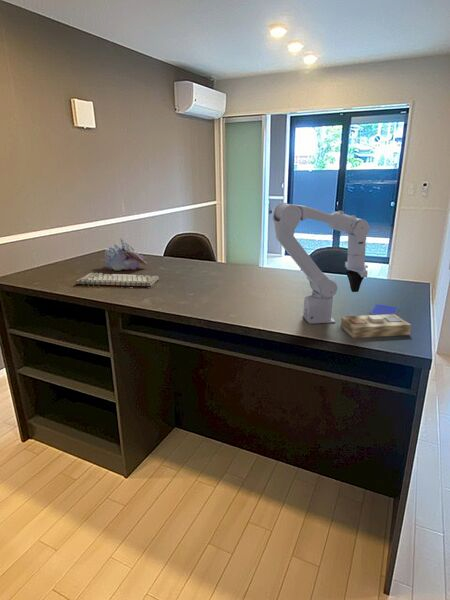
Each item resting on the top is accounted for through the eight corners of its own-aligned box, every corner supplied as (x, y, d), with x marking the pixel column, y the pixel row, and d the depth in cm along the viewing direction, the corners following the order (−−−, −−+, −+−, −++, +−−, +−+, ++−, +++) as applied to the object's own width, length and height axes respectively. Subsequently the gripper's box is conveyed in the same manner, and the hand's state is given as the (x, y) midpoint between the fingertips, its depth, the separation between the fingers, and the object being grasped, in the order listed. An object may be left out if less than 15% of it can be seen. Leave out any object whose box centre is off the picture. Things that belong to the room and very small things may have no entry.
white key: (372, 325, 125) (373, 319, 124) (367, 321, 128) (367, 315, 128) (382, 324, 125) (383, 318, 125) (377, 320, 129) (378, 314, 128)
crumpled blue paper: (101, 257, 219) (99, 232, 206) (138, 252, 228) (139, 228, 215) (109, 282, 207) (108, 258, 195) (148, 276, 216) (150, 252, 203)
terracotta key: (354, 329, 125) (355, 323, 124) (349, 324, 128) (350, 319, 127) (364, 328, 125) (365, 322, 124) (360, 324, 128) (360, 318, 128)
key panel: (353, 337, 122) (354, 327, 121) (340, 326, 131) (341, 316, 130) (409, 334, 124) (411, 324, 123) (392, 323, 134) (394, 314, 132)
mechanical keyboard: (161, 279, 193) (161, 272, 192) (151, 290, 175) (151, 283, 174) (88, 278, 196) (88, 271, 195) (71, 289, 178) (70, 281, 177)
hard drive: (393, 317, 137) (398, 307, 147) (369, 313, 141) (376, 303, 151) (392, 321, 137) (397, 311, 147) (368, 317, 141) (375, 307, 151)
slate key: (389, 327, 126) (390, 321, 125) (383, 323, 129) (384, 317, 129) (399, 326, 126) (400, 321, 126) (393, 322, 130) (394, 317, 129)
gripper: (377, 257, 125) (375, 296, 130) (358, 248, 139) (357, 284, 144) (356, 259, 125) (354, 298, 129) (339, 250, 139) (338, 286, 143)
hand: (354, 291), depth 136 cm, fingers closed
